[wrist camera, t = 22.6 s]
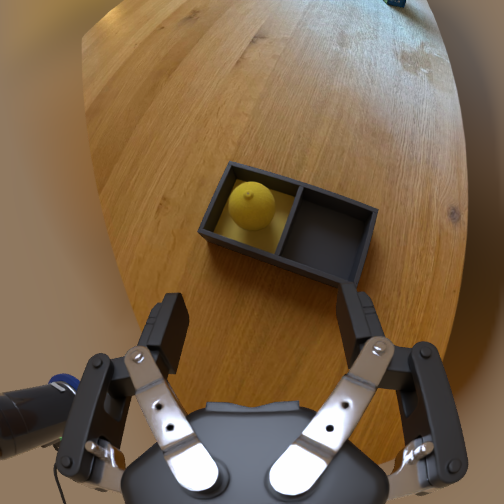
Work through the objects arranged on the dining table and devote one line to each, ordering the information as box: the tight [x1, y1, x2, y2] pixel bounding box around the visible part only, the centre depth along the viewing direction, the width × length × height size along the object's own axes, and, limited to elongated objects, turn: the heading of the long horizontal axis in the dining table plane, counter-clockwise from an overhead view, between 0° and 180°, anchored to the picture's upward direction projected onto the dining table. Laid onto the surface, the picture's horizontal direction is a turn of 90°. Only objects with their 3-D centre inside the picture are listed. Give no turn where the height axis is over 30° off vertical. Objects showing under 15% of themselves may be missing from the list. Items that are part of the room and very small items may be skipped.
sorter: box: [197, 161, 378, 289], centre depth 35 cm, size 10×20×4 cm, turn 68°
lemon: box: [229, 182, 276, 231], centre depth 33 cm, size 6×6×8 cm
